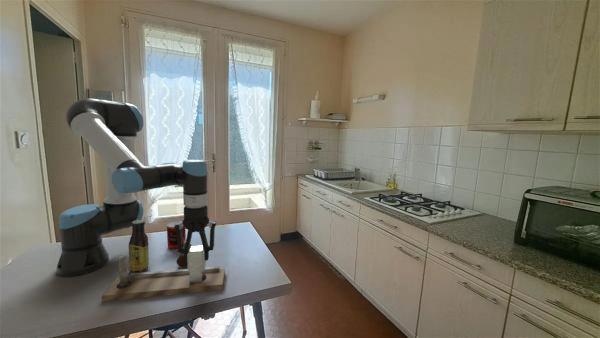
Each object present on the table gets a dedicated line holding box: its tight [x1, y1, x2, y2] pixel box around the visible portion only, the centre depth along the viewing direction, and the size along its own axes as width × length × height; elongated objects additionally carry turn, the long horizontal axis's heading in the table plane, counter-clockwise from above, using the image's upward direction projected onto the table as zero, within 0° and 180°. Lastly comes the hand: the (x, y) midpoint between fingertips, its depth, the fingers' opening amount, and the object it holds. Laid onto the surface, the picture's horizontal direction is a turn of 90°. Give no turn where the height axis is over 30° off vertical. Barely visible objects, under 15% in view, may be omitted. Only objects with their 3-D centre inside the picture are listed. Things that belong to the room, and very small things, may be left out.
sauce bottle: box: [128, 219, 150, 274], centre depth 91 cm, size 6×6×20 cm
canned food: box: [166, 220, 187, 251], centre depth 112 cm, size 8×8×11 cm
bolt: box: [175, 243, 192, 268], centre depth 103 cm, size 6×5×15 cm
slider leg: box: [189, 245, 204, 283], centre depth 84 cm, size 4×6×11 cm, turn 13°
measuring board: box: [101, 254, 226, 302], centre depth 83 cm, size 36×10×12 cm, turn 103°
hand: (196, 268), depth 85 cm, fingers closed on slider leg, 4 cm apart
